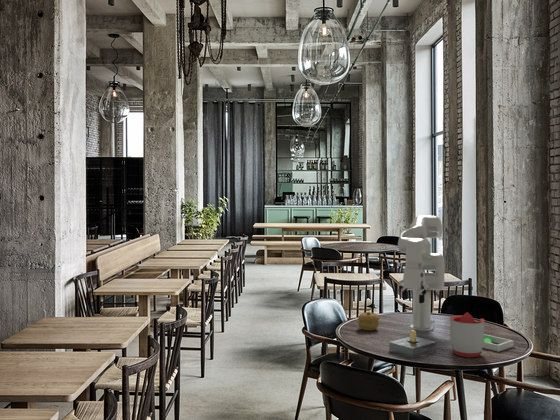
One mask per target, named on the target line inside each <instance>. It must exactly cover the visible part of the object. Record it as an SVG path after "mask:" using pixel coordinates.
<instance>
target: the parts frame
mask: <svg viewBox="0 0 560 420" xmlns="http://www.w3.org/2000/svg"><path fill="white" fill-rule="evenodd" d="M484 337H487V338H490V340H491V342H492V343H489V342H484V343H483V347H482V349H487V350H491V351H493V352H502V351H505V350H507V349H510V348H513V347H514V340H513V339H510V338H509V339H507V338H504V337H500V336H499V337H498V336H497V335H491V334H490V335H489V334H486V333H484Z"/></svg>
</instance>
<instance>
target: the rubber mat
mask: <svg viewBox="0 0 560 420" xmlns="http://www.w3.org/2000/svg"><path fill="white" fill-rule="evenodd" d="M406 337H410V334H409V335H405V336H402V337H399V339H403V338H406ZM416 337H419V338H423V339H426V338H424V337H421V336H417V335H416Z"/></svg>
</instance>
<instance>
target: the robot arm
mask: <svg viewBox="0 0 560 420" xmlns="http://www.w3.org/2000/svg"><path fill="white" fill-rule="evenodd" d="M442 224H443V223H442V220H441V219H440V217H439V216H437V215H417V216H415V217H414V219H412V222H411V223H410V225H409V228H408V229H406V230H404V231H402V232H401V233H400V235H399V238H398V242H397V249H398V251H399V253H401V254H402V253H403V254H405V267H404V269H403V270H404V271H403V277H402V278H403V279H402V280H399V281H398V282H397V283H398V284H399V288H400V290H401V292H402V300H403V301H405V300H408V299H409V291H408V290H412V324H410V326H409V328H410V330H416V331H420V332H421V331H422V332H424V331H425V332H426V331H427V332H429V331H433V330H434V326H433V325H432V324H435V322H436V321H435V319H431V310H432V309H431V304H432V302H431V301H432V299H431V295H430V294H429V292H428V291H443V290H444V287H445V257H444V255H443V254H441V253H436V252H435V253H434V252H432V251H431V249H432V247H431V246H432V244H431V242H430V241H429V239H439V238H441V237H442V235H443V231H444V230H443V226H442ZM425 271H435V272H425Z"/></svg>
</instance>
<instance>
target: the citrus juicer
mask: <svg viewBox="0 0 560 420" xmlns="http://www.w3.org/2000/svg"><path fill="white" fill-rule="evenodd" d="M449 319H450V331H449V332H450V333H449V334H450V336H449V337H450V344H451V348H452V349H451V350H452V351H453V353H454V355H456V356H458V357H459V356H460V357H464V358H467V359H469V358H476V357H480V355H481V354H482V350H483V348H482V347H483V343H484V334H485V322H486V320H485V319H484V318H480V319H479V320H478V321H476V320H475V319H474V317H473V315H471V314H470V313H469V312H465V313H464V314H461V315H458V314H457V315H452V316H450V317H449Z"/></svg>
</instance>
